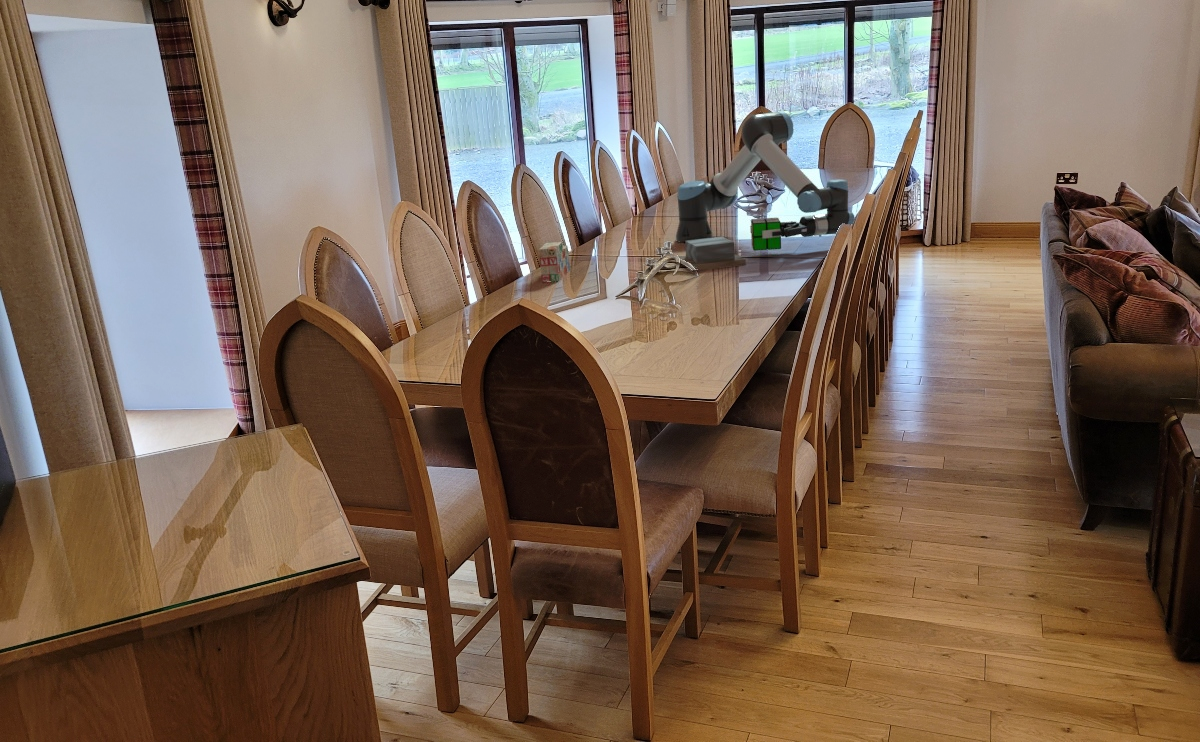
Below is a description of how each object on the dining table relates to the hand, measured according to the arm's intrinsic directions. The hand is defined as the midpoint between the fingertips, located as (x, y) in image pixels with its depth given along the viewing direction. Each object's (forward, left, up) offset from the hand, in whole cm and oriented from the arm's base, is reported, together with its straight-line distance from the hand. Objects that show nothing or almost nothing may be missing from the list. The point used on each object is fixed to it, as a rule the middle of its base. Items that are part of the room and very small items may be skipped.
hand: (756, 232), depth 339 cm
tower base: (+2, -18, -9) cm, 21 cm away
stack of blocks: (-9, -73, -10) cm, 75 cm away
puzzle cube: (0, +4, -6) cm, 7 cm away
